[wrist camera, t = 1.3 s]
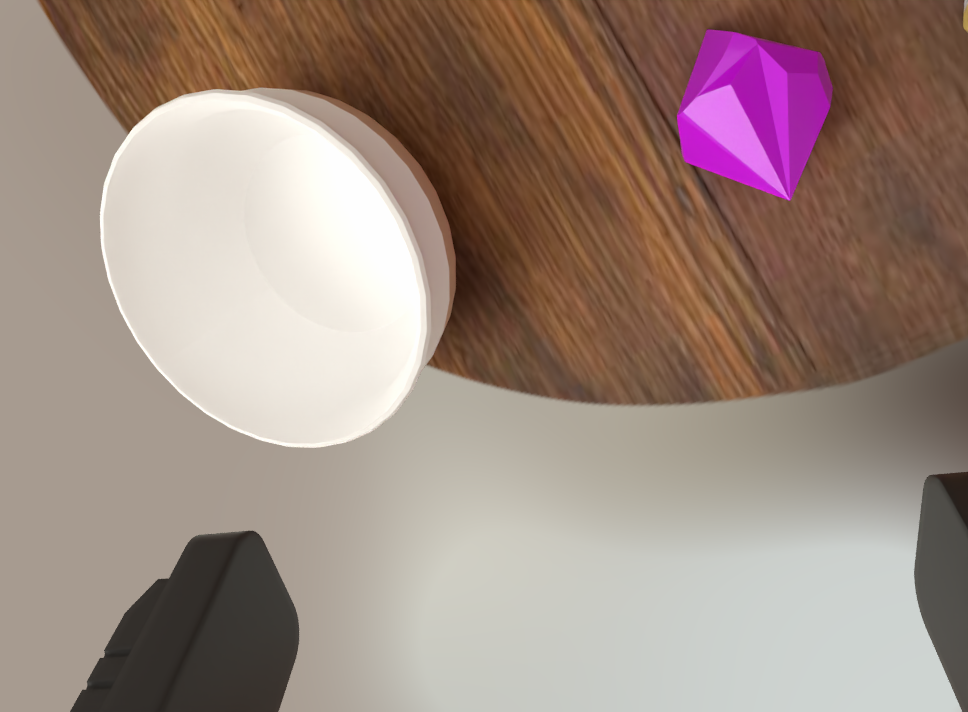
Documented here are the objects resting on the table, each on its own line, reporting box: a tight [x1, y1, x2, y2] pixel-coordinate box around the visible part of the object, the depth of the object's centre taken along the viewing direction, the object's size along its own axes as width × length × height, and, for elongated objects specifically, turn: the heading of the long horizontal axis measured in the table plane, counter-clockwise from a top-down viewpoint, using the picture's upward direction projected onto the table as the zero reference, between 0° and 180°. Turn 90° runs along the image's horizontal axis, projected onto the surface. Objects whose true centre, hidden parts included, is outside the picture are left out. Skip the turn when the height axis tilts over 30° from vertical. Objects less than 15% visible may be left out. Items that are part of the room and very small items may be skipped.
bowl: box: [100, 88, 456, 447], centre depth 38 cm, size 16×16×8 cm
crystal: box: [677, 29, 833, 201], centre depth 31 cm, size 5×5×5 cm
